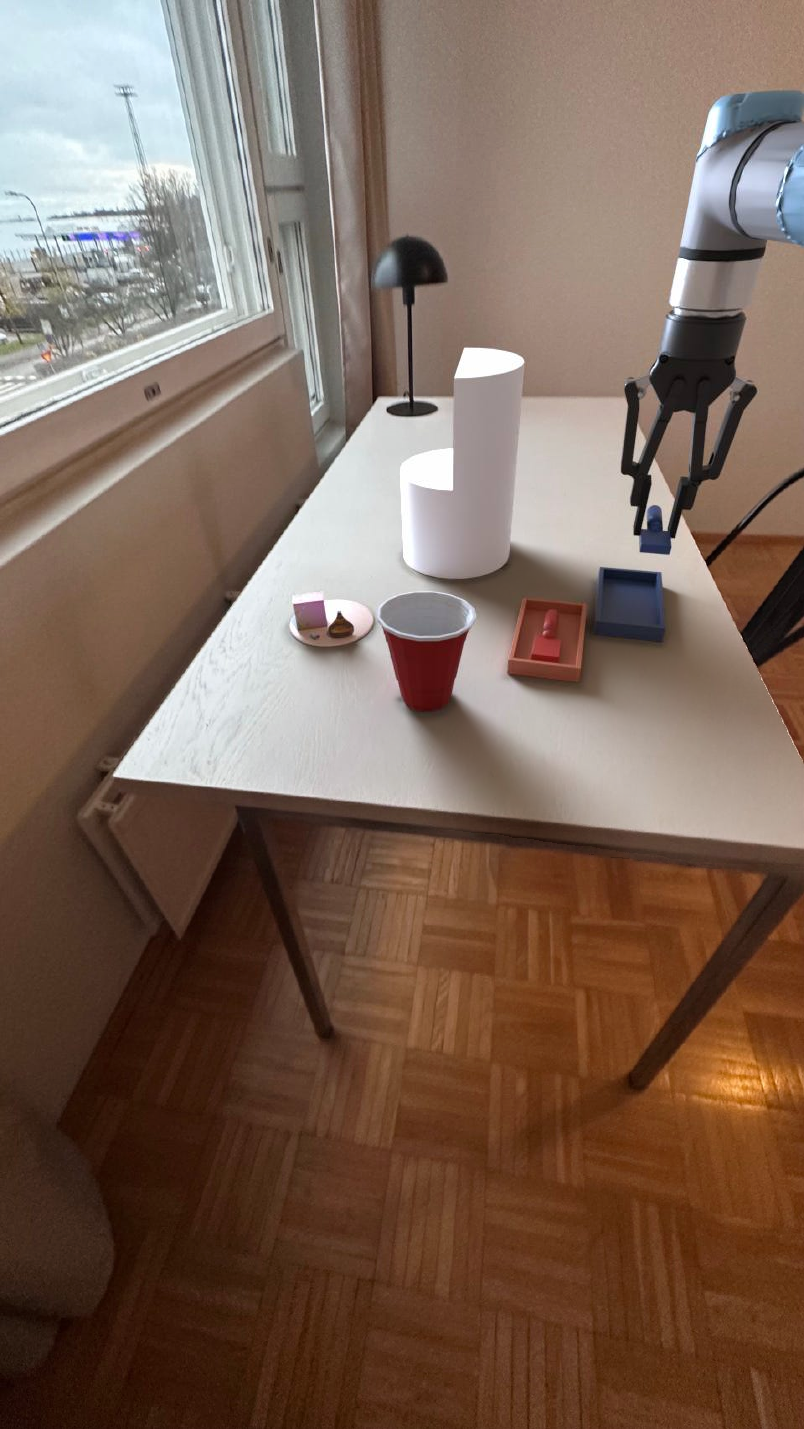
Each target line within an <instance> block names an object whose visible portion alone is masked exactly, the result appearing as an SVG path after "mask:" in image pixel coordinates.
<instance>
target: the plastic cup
mask: <svg viewBox="0 0 804 1429" xmlns="http://www.w3.org/2000/svg"><path fill="white" fill-rule="evenodd" d="M476 619H477V614H476V610H475V607H473V606H472V605H471V604H470V603H469V602H468V601H467V600H466V599H463V598H461V597H458V596H456V595H453V594H452V593H446V592H441V591H434V590H414V591H408V592H403V593H398V594H395V595H393V596H391V597H389V598H387V599H385V600H384V601H383V602H382V603H381V604H380V605H379V606H378V607H377V608H376V620H377V622H378V624H379V625H380V626H381V628H382V632H383V634H384V637H385V642H386V643H387V647H388V651H389V656H390V660H391V663H392V668H393V671H394V675H395V679H396V681H397V683H398V688H399V691H400V695H401V698H402V700H403V702H404V703H405V705H406V706H407V707H408V708H410V709H412V710H414V711H418V712H423V713H425V712H427V713H428V712H434V711H438V710H441V709H442V708H444V707H445V706H446V705H448V703H449V701H450V700H451V697H452V695H453V690H454V686H455V682H456V678H457V676H458V673H459V667H460V663H461V658H462V655H463V651H464V645H465V642H466V641H467V637H468V634H469V632H470V630H471V628H472V626H473V625H474V623H475V622H476Z"/></svg>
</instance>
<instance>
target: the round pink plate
mask: <svg viewBox="0 0 804 1429" xmlns="http://www.w3.org/2000/svg"><path fill="white" fill-rule="evenodd" d="M291 600H292V608H293V612H294V614H293V616H292V617H291V619H290V621H289V624H288V629H289V633H290V634H291V636H292V637H293V638H294V639H295V640H297V641H299V642H300V643H303V644H305V645H308V646H314V647H320V648H321V647H322V648H326V647H327V648H329V647H338V646H339V647H340V646H344V645H348V644H351V643H353V642H355V641H358V640H360V639H362V638H363V637H365V636H366V635H367V634H368V633H369V632H370V631H372V628H373V626H374V625H375V624H374V623H375V617H374V614H373V612H372V611H371V610H370V609H369V608H368V607H367V606H365V605H364V604H362V603H359V602H357V601H354V600H349V599H324V594H323V591H322V590H320V591H312V592H304V593H297V594H291Z"/></svg>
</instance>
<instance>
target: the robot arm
mask: <svg viewBox="0 0 804 1429" xmlns="http://www.w3.org/2000/svg"><path fill="white" fill-rule="evenodd" d="M707 115H708V116H707V120H706V124H705V127H704V132H703V137H702V140H701V145H700V149H699V151H698V153H697V154H696V158H695V168H694V173H693V178H692V183H691V188H690V194H689V197H688V198H689V199H688V204H687V208H686V215H685V219H684V225H683V228H682V229H683V230H682V235H681V240H680V248H679V253H678V257H677V259H676V260H677V261H676V264H675V265H676V266H675V270H674V276H673V280H672V285H671V290H670V294H669V298H668V299H669V300H668V304H669V305H670V307H671V308H673V309H672V310H670V311H669V312H668V313H667V314H666V315H665V319H664V323H663V328H662V333H661V337H660V343H659V348H658V352H657V357H656V359H655V361H654V362H653V364H652V365H651V367H650V369H649V371H648V372H647V373H644V374H642V375H640V376H638V377H633V376H629V377H627V378H626V379H625V381H624V386H623V387H624V388H623V390H624V395H625V399H626V403H627V407H626V416H625V424H624V431H623V432H624V433H623V441H622V450H621V451H622V452H621V459H620V473H621V474H622V475H623V476H629V477H631V478H632V479H633V481H632V485H631V491H630V496H629V504H630V507H635V508H636V507H637V508H636V512H635V517H634V521H633V526H632V527H633V528H632V529H633V531H632V532H633V536H637V537H639V536H640V532H641V529H643V524H644V519H645V515H646V512H647V507H648V506H647V505H648V502H649V497H650V494H651V488H652V484H653V482H652V474H649V473H650V470H651V467H652V465H653V462H654V460H655V457H656V455H657V453H658V450H659V447H660V445H661V443H662V440H663V437H664V435H665V433H666V430H667V427H668V426H669V423H670V422H671V419H672V417H673V414H674V413H679V412H687V413H688V412H689V413H691V414H692V422H691V433H690V434H691V435H690V447H689V448H690V449H689V459H688V473H687V474H688V475H687V476H680V478H679V481H678V486H677V489H676V493H675V497H674V501H673V505H672V509H671V513H670V517H669V519H668V520H669V521H668V524H667V529H666V530H667V531H670V536H671V539H673V540H675V539H676V536H677V532H678V528H679V525H680V521H681V517H682V514H683V511H691V510H692V509H693V507H694V505H695V500H696V498H697V494H698V491H699V487H700V486H701V485H702V483H703V482H706V481H708V480H711V481H715V480H717V479H718V478H720V475H721V473H722V470H723V468H724V465H725V463H726V459H727V457H728V454H729V452H730V449H731V446H732V444H733V441H734V439H735V436H736V433H737V430H738V427H739V425H740V422H741V420H742V417H743V414H744V411H745V410H746V409H747V408H748V406H749V405H750V403H751V402H752V401H753V399H754V398H755V397H756V395H757V393H758V388H757V386H756V384H755V383H754V381H753V380H751V379H746V380H745V379H744V378H742V377H740V376H738V375H737V369H736V357H737V353H738V350H739V348H740V343H741V339H742V336H743V332H744V328H745V325H746V322H747V316H746V313H745V312H744V311H743V310H744V309H746V308H747V307H749V306H751V303H752V300H753V296H754V292H755V288H756V285H757V281H758V277H759V273H760V270H761V266H762V262H763V258H764V256H765V253H766V249H767V248H766V247H767V243H768V241H771V242H779V243H785V244H791V245H796V246H797V245H798V246H800V247H801V248H803V249H804V121H803V118H804V92H803V91H802V90H797V89H779V90H777V89H776V90H762V91H761V90H760V91H750V92H744V93H732V94H731V93H730V94H727V95H723V96H722V97H720V98H719V99H718V100H716V102H715V103H713V105H712V107H711V108H710V110H709V112H708V114H707ZM650 385H651V387H652V388H653V391H654V394H655V396H656V397H657V399H658V402H659V405H658V408H657V412H656V414H655V417H654V419H653V422H652V424H651V428H650V430H649V432H648V435H647V437H646V440H645V444H644V446H643V448H642V451H641V454H640V455H639V459H638V461H637V462H636V461H634V455H635V446H636V439H637V431H638V423H639V417H640V400H642V399H644V398H645V396H646V394H647V389H648V387H650ZM728 388H730V390H729V392H728V398H729V400H730V401H729V403H728V405H727V408H726V410H725V413H724V416H723V419H722V421H721V424H720V428H719V430H718V432H717V435H716V438H715V442H714V445H713V447H712V450H711V452H710V456H709V459H708V461H707V464H704V454H705V444H706V435H707V434H706V432H707V423H708V418H709V409H710V408H709V407H710V406H711V405H713V403H714V402H715V401H716V400H717V399H718V398H719V397H720V396H721V395H722V394H723V393H724V392H725V391H726V390H727V389H728Z"/></svg>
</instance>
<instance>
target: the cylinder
mask: <svg viewBox="0 0 804 1429" xmlns="http://www.w3.org/2000/svg"><path fill="white" fill-rule="evenodd" d="M525 363H526V362H525V360H524V358H523V357H522V356H521V355H519V354H517V353H514V352H510V351H507V350H503V349H502V350H501V349H496V348H485V347H464V348H463V350H462V353H461V357H460V360H459V362H458V366H457V368H456V371H455V374H454V376H453V412H452V413H453V414H452V415H453V419H452V423H453V424H452V448H443V449H436V450H435V449H433V450H430V451H426V452H422V453H419V454H417V455H414V456H411V457H410V458H409V459H407V460H406V461H404V462H403V463H402V465H401V466H400V470H399V471H400V472H399V475H400V478H399V479H400V497H401V498H400V499H401V500H400V502H401V516H402V517H401V521H402V522H401V524H402V525H401V526H402V527H401V528H402V548H403V550H402V552H403V559H404V561H405V563H406V564H407V565H408V566H409V567H410V568H412V570H414V571H416V572H418V573H420V574H423V575H426V576H429V577H435V578H438V579H447V580H466V579H473V578H479V577H483V576H486V575H488V574H492V573H494V572H495V571H497V570H499V569H500V568H502V567H503V566H504V565H505V564H506V563H508V560H509V557H510V551H511V537H512V526H513V514H514V513H513V512H514V502H515V501H514V499H515V498H514V497H515V487H516V486H515V485H516V474H517V463H518V462H517V461H518V451H519V436H520V425H521V411H522V401H523V400H522V399H523V387H524V386H523V385H524V374H525Z"/></svg>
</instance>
